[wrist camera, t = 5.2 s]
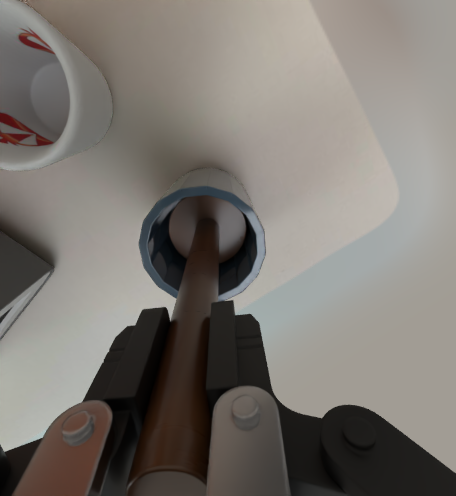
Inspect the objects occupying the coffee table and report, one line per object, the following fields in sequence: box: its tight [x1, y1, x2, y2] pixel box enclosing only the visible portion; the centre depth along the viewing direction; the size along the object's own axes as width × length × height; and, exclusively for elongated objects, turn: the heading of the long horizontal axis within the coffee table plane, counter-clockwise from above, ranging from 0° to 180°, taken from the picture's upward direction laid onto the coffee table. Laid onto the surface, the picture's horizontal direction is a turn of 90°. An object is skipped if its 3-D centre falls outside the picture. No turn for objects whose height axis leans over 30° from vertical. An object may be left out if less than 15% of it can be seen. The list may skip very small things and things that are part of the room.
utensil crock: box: [139, 168, 266, 302], centre depth 21 cm, size 7×7×9 cm
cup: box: [0, 0, 113, 171], centre depth 18 cm, size 11×8×8 cm
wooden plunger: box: [125, 195, 246, 496], centre depth 14 cm, size 5×5×18 cm
